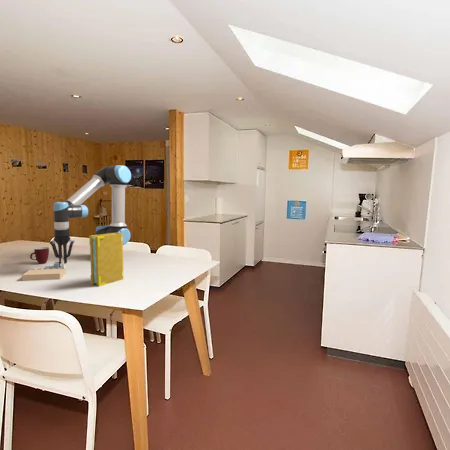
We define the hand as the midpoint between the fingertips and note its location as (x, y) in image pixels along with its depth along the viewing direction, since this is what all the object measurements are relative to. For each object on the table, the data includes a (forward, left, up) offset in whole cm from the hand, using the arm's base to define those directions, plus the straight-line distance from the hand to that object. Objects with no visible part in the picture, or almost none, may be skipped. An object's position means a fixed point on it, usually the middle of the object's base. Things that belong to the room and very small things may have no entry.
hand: (63, 269), depth 179 cm
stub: (+6, 0, -2) cm, 6 cm away
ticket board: (+7, +9, -2) cm, 12 cm away
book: (-28, +24, -2) cm, 37 cm away
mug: (+20, -25, -2) cm, 32 cm away
